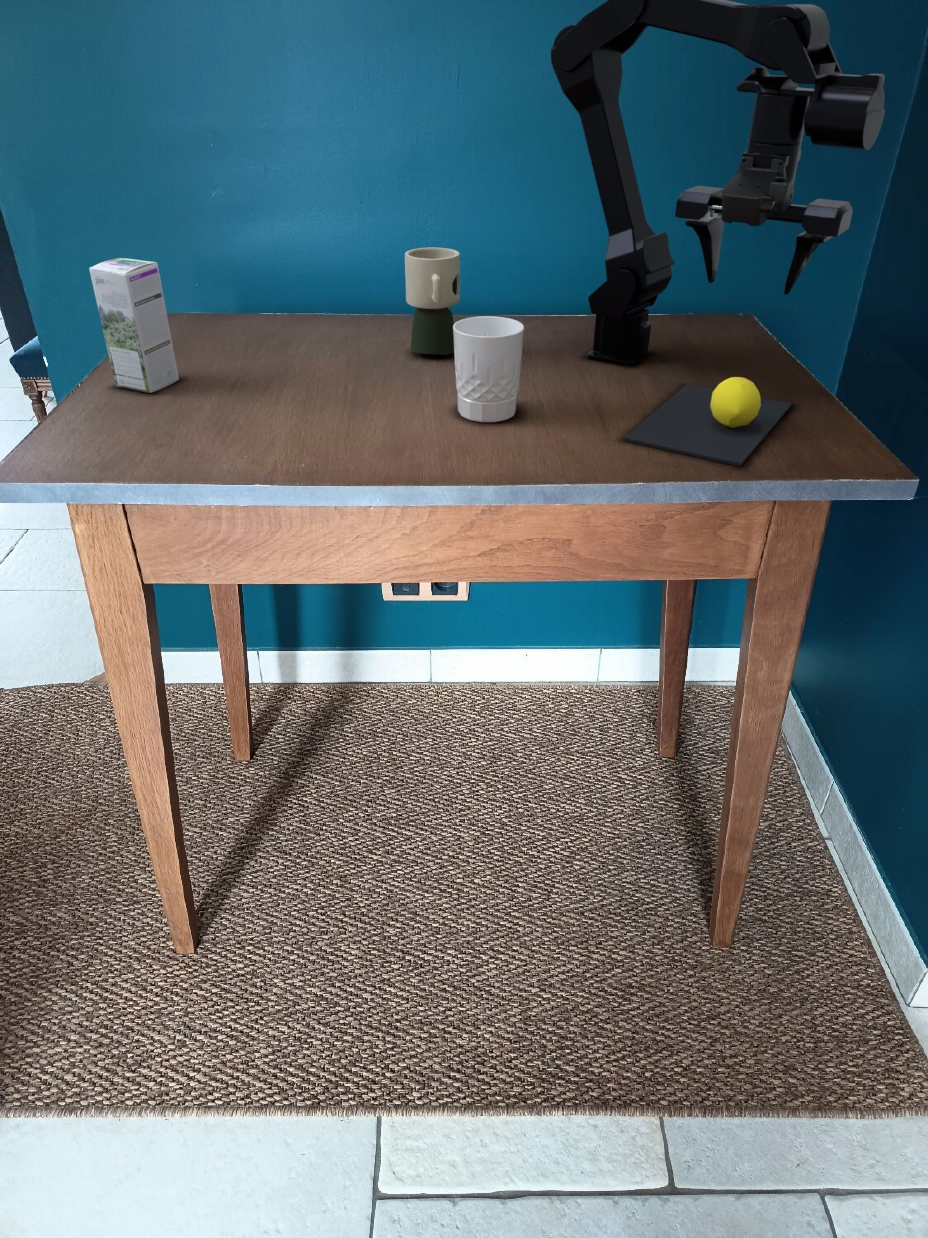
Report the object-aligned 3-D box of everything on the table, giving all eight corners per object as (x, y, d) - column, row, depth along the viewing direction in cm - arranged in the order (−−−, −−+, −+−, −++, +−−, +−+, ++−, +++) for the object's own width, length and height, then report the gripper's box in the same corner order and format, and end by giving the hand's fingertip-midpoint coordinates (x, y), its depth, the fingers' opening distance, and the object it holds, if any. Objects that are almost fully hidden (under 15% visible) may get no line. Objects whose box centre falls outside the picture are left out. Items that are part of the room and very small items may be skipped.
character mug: (465, 364, 121) (465, 261, 114) (411, 367, 121) (408, 263, 113) (454, 339, 130) (454, 242, 123) (404, 341, 130) (401, 244, 122)
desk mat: (623, 440, 101) (624, 437, 100) (686, 386, 115) (687, 383, 115) (740, 466, 95) (741, 463, 95) (791, 406, 109) (792, 403, 109)
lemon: (759, 438, 100) (768, 390, 97) (708, 435, 101) (716, 387, 98) (752, 414, 106) (761, 368, 103) (705, 411, 107) (712, 366, 104)
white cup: (473, 429, 103) (473, 340, 98) (441, 406, 109) (440, 321, 103) (533, 417, 106) (537, 330, 101) (499, 395, 112) (502, 312, 106)
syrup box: (181, 379, 116) (160, 259, 108) (149, 395, 112) (125, 271, 104) (145, 373, 118) (122, 255, 110) (113, 388, 114) (86, 265, 106)
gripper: (666, 142, 99) (648, 290, 108) (842, 157, 91) (808, 317, 100) (703, 131, 107) (683, 271, 116) (869, 145, 99) (834, 294, 108)
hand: (748, 287), depth 110 cm, fingers open, 9 cm apart
